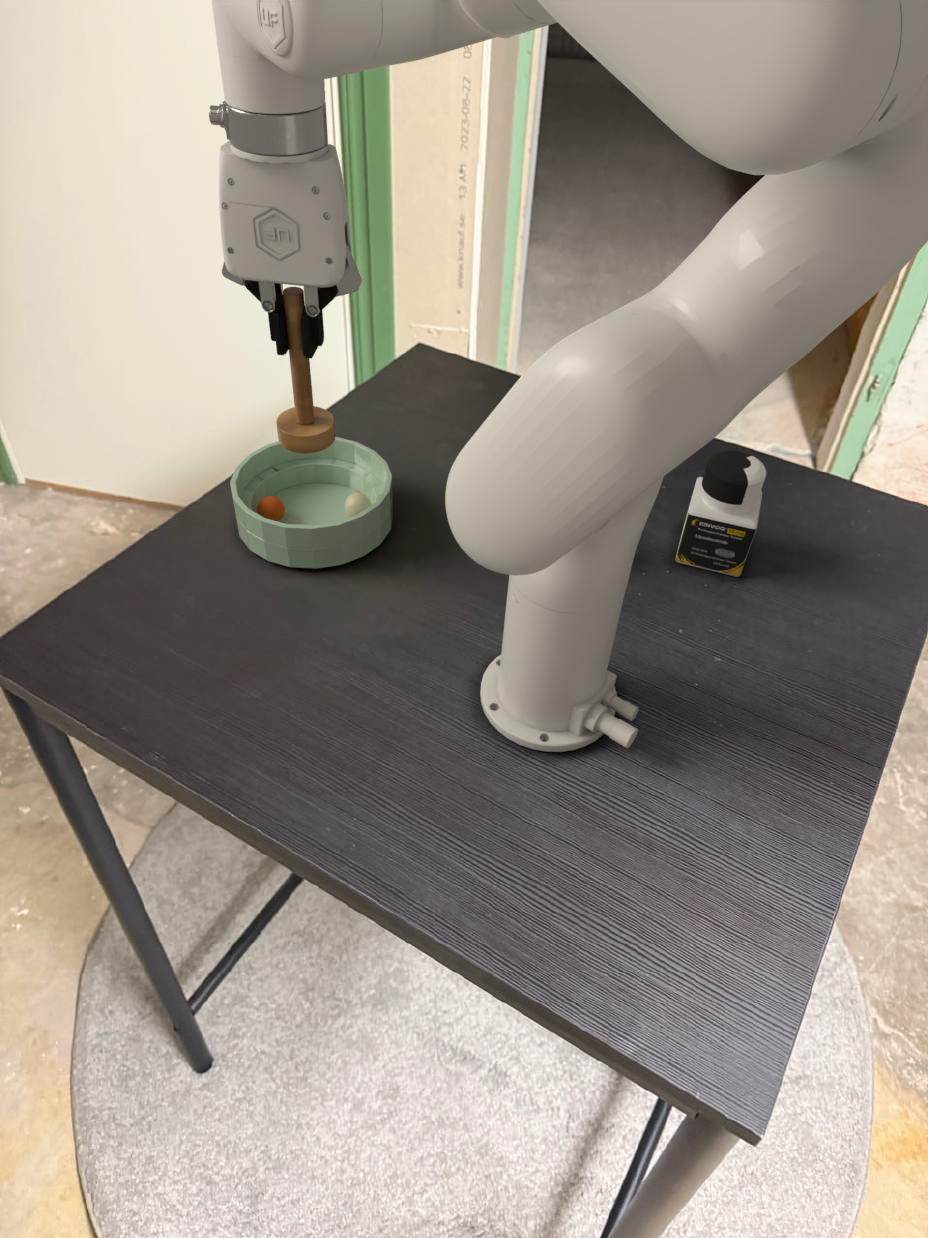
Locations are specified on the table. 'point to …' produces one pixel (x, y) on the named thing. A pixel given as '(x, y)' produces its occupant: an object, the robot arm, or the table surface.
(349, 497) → the bead cream
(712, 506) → the medicine bottle
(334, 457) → the bowl
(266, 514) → the bead orange
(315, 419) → the wooden mushroom stand
